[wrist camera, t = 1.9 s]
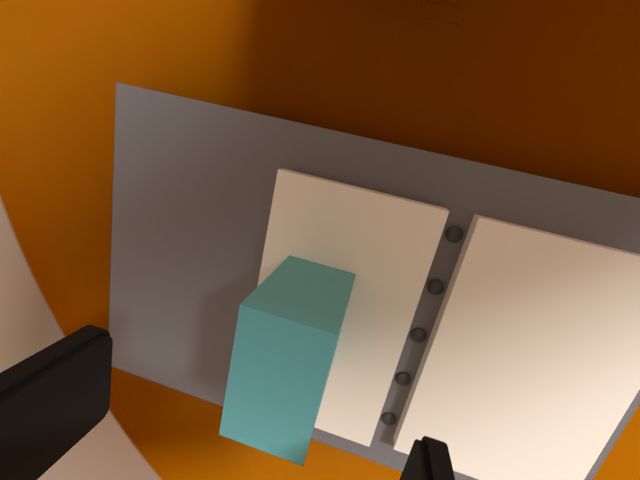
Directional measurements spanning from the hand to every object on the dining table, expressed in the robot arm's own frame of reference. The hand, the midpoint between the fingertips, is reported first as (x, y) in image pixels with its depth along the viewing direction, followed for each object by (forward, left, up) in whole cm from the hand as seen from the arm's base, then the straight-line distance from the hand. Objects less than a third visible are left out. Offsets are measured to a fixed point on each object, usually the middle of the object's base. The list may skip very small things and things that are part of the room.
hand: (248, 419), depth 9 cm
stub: (-1, -1, -7) cm, 7 cm away
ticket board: (-3, -1, -9) cm, 9 cm away
